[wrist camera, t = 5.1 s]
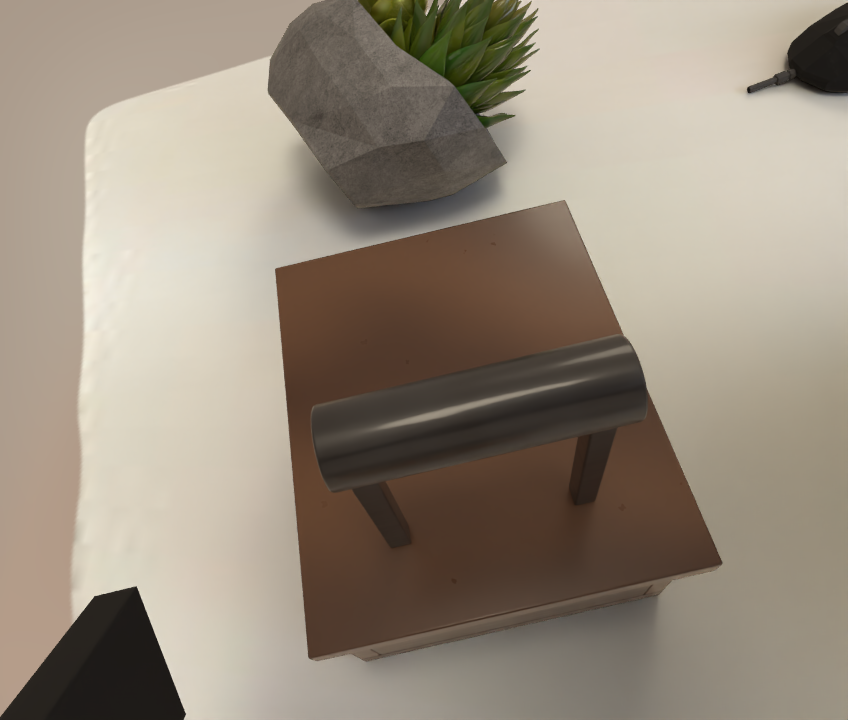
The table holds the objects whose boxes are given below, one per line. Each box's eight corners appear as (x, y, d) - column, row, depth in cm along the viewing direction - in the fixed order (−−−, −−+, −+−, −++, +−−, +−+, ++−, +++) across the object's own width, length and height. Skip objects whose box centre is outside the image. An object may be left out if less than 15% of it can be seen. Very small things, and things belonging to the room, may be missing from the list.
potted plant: (272, 84, 42) (463, -54, 40) (379, 248, 45) (566, 125, 43) (209, 32, 31) (475, -167, 29) (359, 259, 33) (616, 88, 31)
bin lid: (717, 570, 19) (847, 454, 12) (315, 662, 20) (178, 608, 12) (564, 212, 28) (580, 2, 20) (280, 279, 28) (185, 97, 20)
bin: (659, 594, 27) (705, 545, 20) (364, 661, 27) (313, 635, 20) (555, 316, 34) (564, 213, 28) (327, 369, 34) (281, 280, 28)
